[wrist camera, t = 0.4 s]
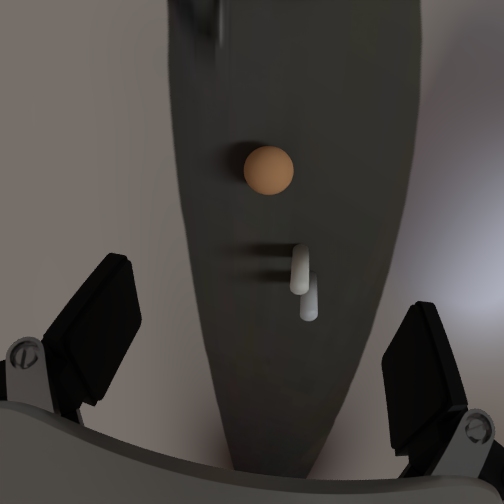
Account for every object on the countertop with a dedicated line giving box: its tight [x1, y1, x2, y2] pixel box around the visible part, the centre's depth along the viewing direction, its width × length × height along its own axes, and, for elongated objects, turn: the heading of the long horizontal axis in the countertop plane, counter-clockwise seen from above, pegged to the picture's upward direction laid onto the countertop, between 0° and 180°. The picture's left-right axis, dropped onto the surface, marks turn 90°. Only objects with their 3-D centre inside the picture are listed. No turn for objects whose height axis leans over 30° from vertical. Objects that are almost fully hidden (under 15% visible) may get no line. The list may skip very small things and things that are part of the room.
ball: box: [244, 146, 293, 195], centre depth 37 cm, size 6×6×6 cm
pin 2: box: [300, 271, 318, 321], centre depth 45 cm, size 2×2×8 cm
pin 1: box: [290, 244, 309, 295], centre depth 43 cm, size 2×2×8 cm
